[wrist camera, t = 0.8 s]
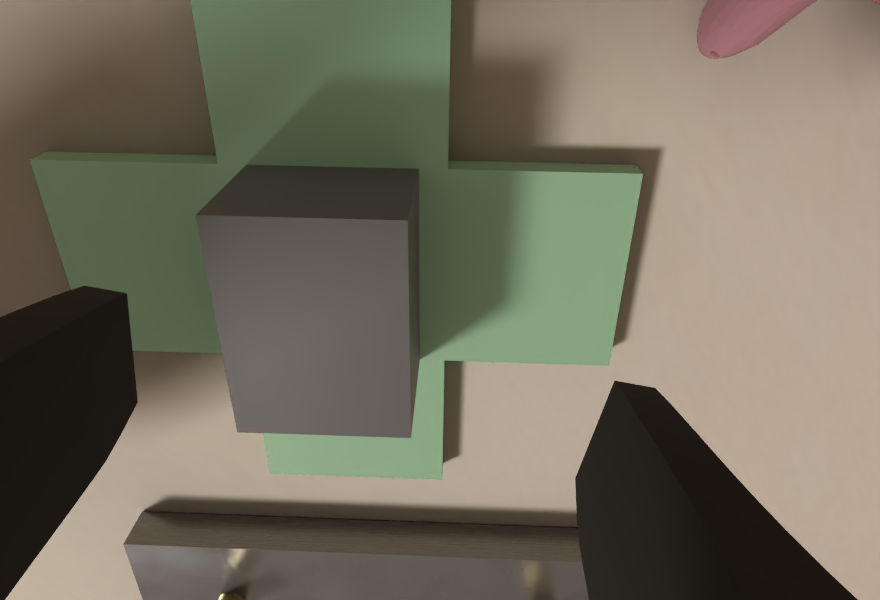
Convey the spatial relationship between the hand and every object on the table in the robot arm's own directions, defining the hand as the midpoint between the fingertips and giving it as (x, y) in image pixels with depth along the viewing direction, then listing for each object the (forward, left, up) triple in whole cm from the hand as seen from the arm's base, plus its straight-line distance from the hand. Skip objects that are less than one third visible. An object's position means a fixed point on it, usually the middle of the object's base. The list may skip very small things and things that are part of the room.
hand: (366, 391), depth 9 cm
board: (-2, -2, -9) cm, 9 cm away
